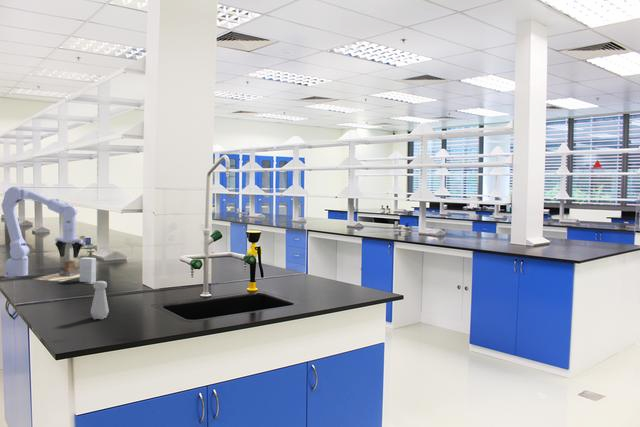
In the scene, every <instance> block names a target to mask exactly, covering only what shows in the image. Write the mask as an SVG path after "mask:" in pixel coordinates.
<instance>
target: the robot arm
mask: <svg viewBox="0 0 640 427" xmlns="http://www.w3.org/2000/svg"><path fill="white" fill-rule="evenodd" d="M24 199H30V200H32V201H35V202H38V203H40V204H43V205H44V206H45V205H46V206H47V209H48V210H50V211H51V212H55V213H57V214H59V215H62V216H63V220H62V221H63V223H62V227H63V228H62V237H55V239H54V241H55V246H56V247H57V250H58V252H59V253H58V254H59V256H60V257H61V258H62V257H63V258H64V257H65V255H66V245H67V244H68V243H69V244H71V246H72V252H73V254H72V256H73V258H74V259H75V258H78V257H79V253H80V251H81V249H82V248H83V245H84V239H83V238H76V236H77V234H76V232H77V230H76V229H77V218H76V216H77V213H78V209H77V208H76V207H75V206H74V205H69V203H65V202H64V201H63V202H62V201H60V199H59V198H52V199H50V198H48V197H45V196H43V195H41V194H39V193H37V192H35V191H33V190H31V189H28V188H25V187H21V186H18V187H17V186H12V187H9V188H8V189H6V191H5V192H4V196H3V199H2V203H1V210H2V214H3V216H4V217H3V218H4V220H5V225H6V228H7V231H8V235H9V239H10V242H9V247H10V249H9V255H10V258H8V259H7V260H6V261H5V265H4V272H5V273H4V275H3V277H4V278H13V277H25V276H28V275H29V257H28V255H29V254H30V252H31V250H30V247H29V246H28V245H27V243H26V240H25V239H24V238H23V234H22V229H21V226H20V222H19V218H18V215H17V211H16V208H15V207H16V206H17V205H18V203H20V202H21V201H23V200H24Z"/></svg>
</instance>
